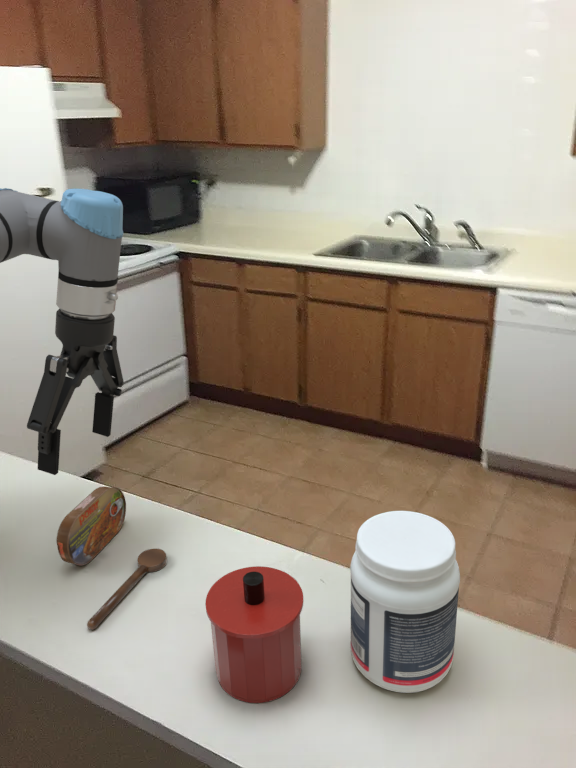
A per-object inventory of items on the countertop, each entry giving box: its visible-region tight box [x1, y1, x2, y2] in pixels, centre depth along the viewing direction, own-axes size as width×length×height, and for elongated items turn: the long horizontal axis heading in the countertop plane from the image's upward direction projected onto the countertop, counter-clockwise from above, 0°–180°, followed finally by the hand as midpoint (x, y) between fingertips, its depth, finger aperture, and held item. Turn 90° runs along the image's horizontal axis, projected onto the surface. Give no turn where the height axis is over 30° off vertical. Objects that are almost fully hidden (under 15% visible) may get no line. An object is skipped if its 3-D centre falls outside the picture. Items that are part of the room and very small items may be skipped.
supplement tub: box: [349, 510, 461, 694], centre depth 81 cm, size 13×13×18 cm
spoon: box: [86, 548, 168, 631], centre depth 97 cm, size 17×4×1 cm, turn 157°
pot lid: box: [205, 565, 304, 639], centre depth 79 cm, size 12×12×4 cm
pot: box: [210, 614, 302, 704], centre depth 82 cm, size 11×11×10 cm
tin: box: [55, 486, 127, 567], centre depth 106 cm, size 15×3×8 cm, turn 160°
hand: (76, 451), depth 97 cm, fingers open, 13 cm apart
